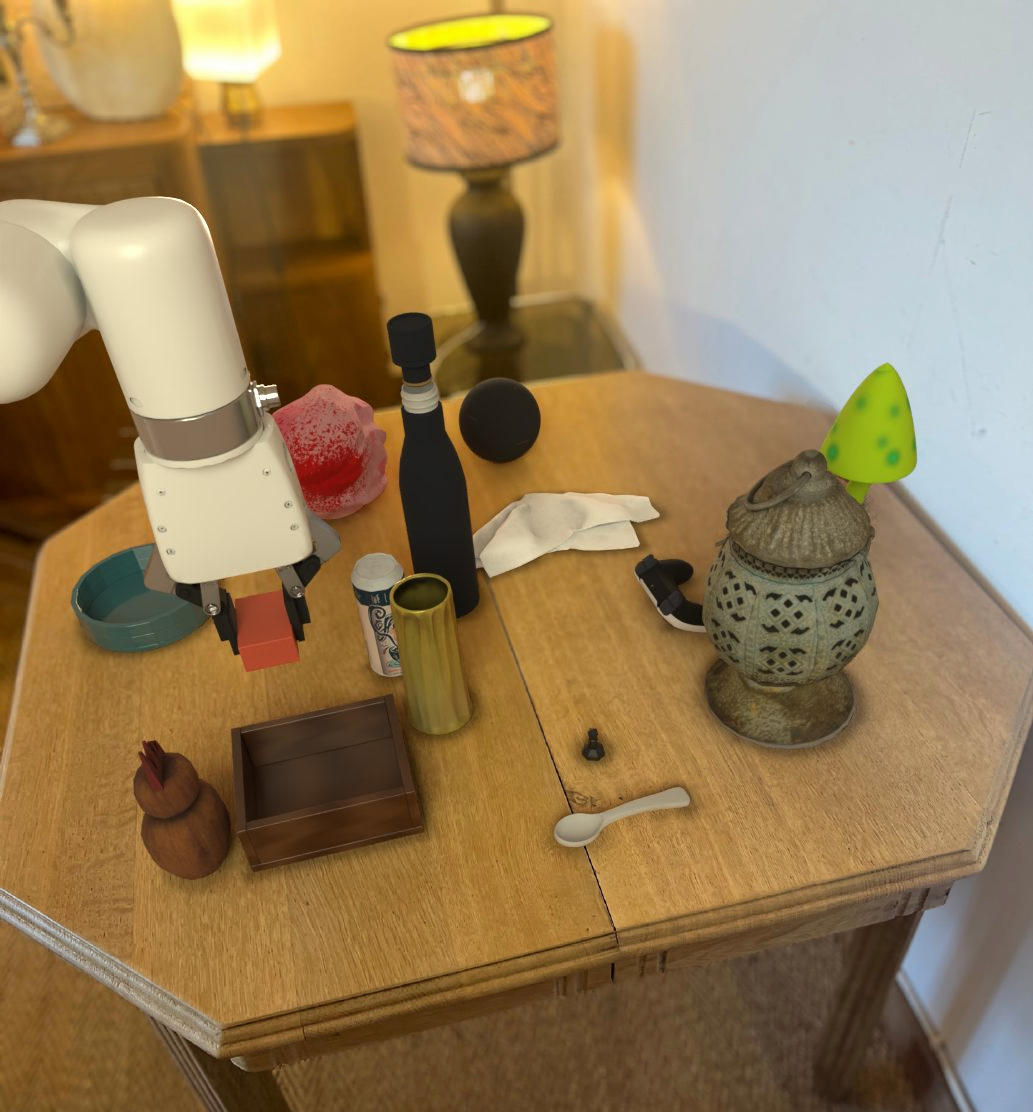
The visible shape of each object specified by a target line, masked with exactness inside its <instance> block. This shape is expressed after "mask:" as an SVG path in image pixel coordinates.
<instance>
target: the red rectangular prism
mask: <svg viewBox="0 0 1033 1112" xmlns="http://www.w3.org/2000/svg"><path fill="white" fill-rule="evenodd" d="M234 607H235V610H236V618H237V632H238V636H237V641H238V650H239V653H240V655H239V656H240V658H241V661H242V664H243V666H244V670H245V673H250V672H254V671H259V670H264V669H268V668H273V667H277V666H282V665H286V664H292V663H295V662H300V661H301V656H300V650H299V649H300V648H299V642H298V640H297V641H296V638H295V634H294V631H293V628H292V625H291V624H290V621H289V618H288V614H287V611H286V608H285V604H284V598H283V590H282V588H281V589H277V590H272V591H267V592H262V593H257V594H252V595H248V596H242V597H237V598H234Z"/></svg>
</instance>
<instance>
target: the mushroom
mask: <svg viewBox="0 0 1033 1112" xmlns="http://www.w3.org/2000/svg"><path fill="white" fill-rule="evenodd" d="M913 417H914V416H913V412H912V407H911V404H910V400H909V396H908V393H907V390H906V388H905V385H904V382H903V380H902V378H901V376H900V374H899V373H898V371H897V369H896V368H895V367H894V366H893V365H892V364H891V363H889V362H885V363H883V364H881V365H879V366H878V367H876V368H875V369H874V370H872V372H870V373H869V374H868V375H867V376H866V378H864V379H863V380H862V382H861V383H860V384H859V385H858V386H857V387H856V389H855V390H854V391H853V392H852V394H851V396H850V397H849V398H848V399H847V401H846V402H845V404H844V405H843V406H842V408H841V410H840V411H839V413H838V415H837V416H836V418H835V420H834V421H833V424H832V426H830V429H829V431H828V433H826V436H825V438H824V440H823V441H822V444H821V447H820V449H819V452H821V453H822V454H823V455H824V457H825V458H826V460H827V469H828V470H829V471H830V472H832V473H833V474H835V475H837V476H839V477H842V478H845V479H848V480H849V483H848V485H847V487H846V490H847V492H848V493H849V494H850V495H851V496H852V497H854V498H855V499H856V500H857V501H858V502H859V503H860V504H861V505H862V506H863V503H864V500H865V499H866V496H867V493H868V491H869V490H870V488H871V485H872V484H887V483H893V482H898V481H899V480H900V481H901V480H902V479H904V478H907V477H908V476H910V475H911V474H912V473H913V472H914V470H916V467H917V464H918V447H917V437H916V431H915V424H914V418H913Z"/></svg>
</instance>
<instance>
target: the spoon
mask: <svg viewBox="0 0 1033 1112" xmlns="http://www.w3.org/2000/svg"><path fill="white" fill-rule="evenodd" d="M690 804H691V798H690V796H689V794H688V793H687V791H686V790H685V789H684V788H682V787H681V786H676V787H671V788H668V789H665V790H663V791H660V792H657V793H654V794H650V795H647V796H646V795H645V796H643V797H640V798H637V799H634V800H631V801H627V802H625V803H622V804H620V805H618V806H615V807H613V808H610V809H607V810H605V811H603V812H598V813H585V812H583V813H582V812H579V813H572V814H569V815H566V816H564V817H563V818H561V819H559V820H558V822H557V823H556V824H555V825H554V828H553V837H554V839H555V841H556V842H557V843H558V844H560V845H561V846H564V847H568V848H581V847H585V846H587V845H589V844H591V843H593V842H594V841H595V840H596V839H597V838H598V837H599V835H600V834H601V832H602V831H603V830H604V829H605V827H607V826H608V825H610V824H612V823H614V822H616V821H619V820H623V819H625V818H628V817H630V816H634V815H639V814H641V813H648V812H651V811H652V812H653V811H658V810H667V809H677V808H685V807H688V806H689V805H690Z"/></svg>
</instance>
